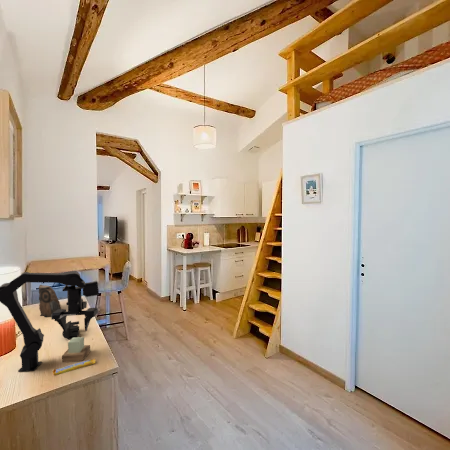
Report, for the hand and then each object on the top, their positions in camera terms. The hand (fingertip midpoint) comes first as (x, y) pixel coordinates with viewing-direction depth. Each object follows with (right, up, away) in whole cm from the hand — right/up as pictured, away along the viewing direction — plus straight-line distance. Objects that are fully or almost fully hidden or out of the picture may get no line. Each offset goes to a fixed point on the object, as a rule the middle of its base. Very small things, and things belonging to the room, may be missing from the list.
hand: (76, 331), depth 127 cm
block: (0, -9, 0) cm, 9 cm away
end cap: (-15, -12, +22) cm, 29 cm away
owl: (-46, -10, +54) cm, 72 cm away
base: (0, -12, +1) cm, 12 cm away
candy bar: (+4, -13, -9) cm, 17 cm away
